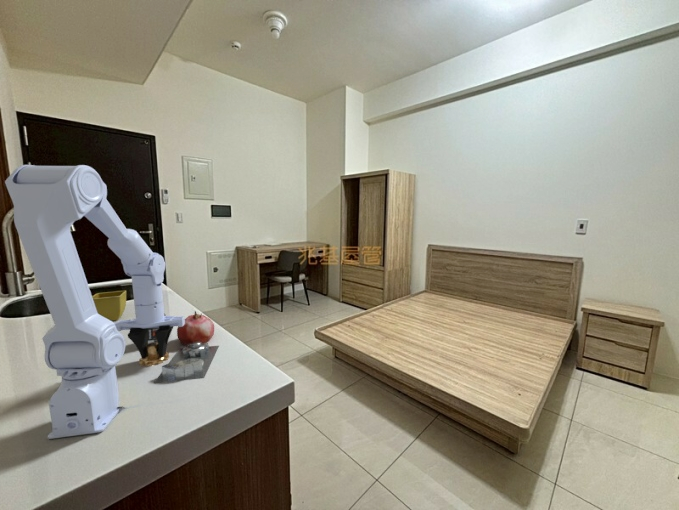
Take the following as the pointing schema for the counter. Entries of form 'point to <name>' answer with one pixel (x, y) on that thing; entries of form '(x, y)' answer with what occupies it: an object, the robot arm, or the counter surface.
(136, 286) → the robot arm
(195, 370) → the ring gear segment
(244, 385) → the counter surface
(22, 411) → the counter surface
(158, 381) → the carrier plate
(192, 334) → the fruit
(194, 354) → the sun gear
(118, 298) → the flower pot
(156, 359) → the planet gear
